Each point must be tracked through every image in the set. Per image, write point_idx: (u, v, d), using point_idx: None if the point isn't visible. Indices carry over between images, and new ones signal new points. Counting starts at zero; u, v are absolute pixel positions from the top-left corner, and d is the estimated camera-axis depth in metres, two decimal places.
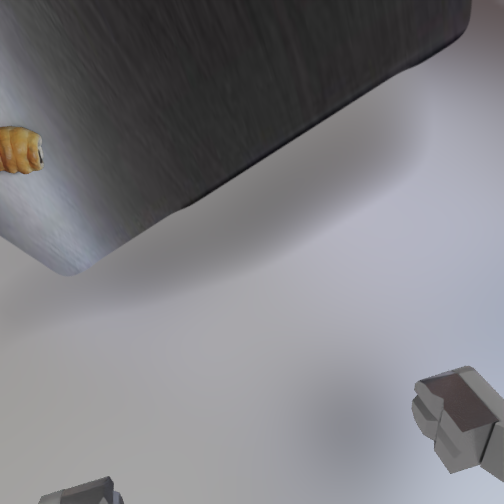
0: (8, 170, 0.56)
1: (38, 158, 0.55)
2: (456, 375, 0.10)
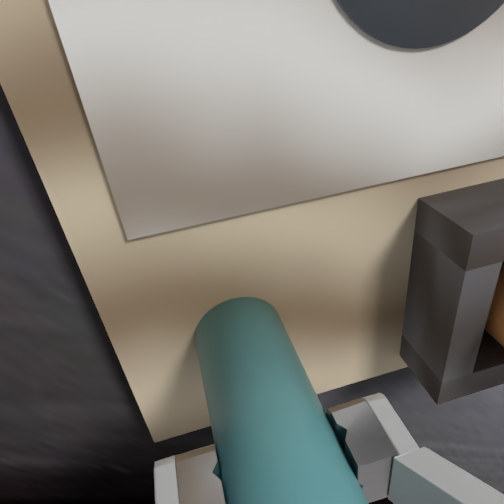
0: None
1: None
2: (365, 403, 0.10)
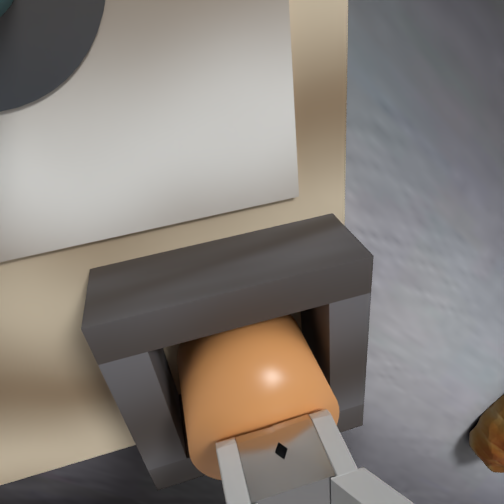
0: None
1: None
2: (309, 420, 0.10)
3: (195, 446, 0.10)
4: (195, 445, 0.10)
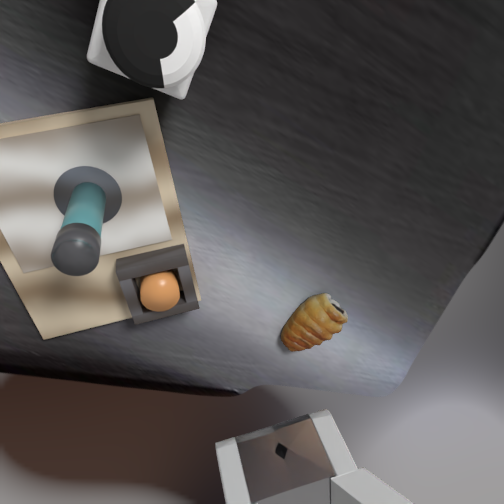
0: (326, 339, 0.54)
1: (340, 313, 0.52)
2: (309, 420, 0.10)
3: (142, 297, 0.42)
4: (142, 297, 0.42)
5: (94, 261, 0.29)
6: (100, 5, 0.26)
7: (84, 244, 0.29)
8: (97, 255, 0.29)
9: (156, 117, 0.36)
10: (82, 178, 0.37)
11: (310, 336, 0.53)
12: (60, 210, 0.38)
